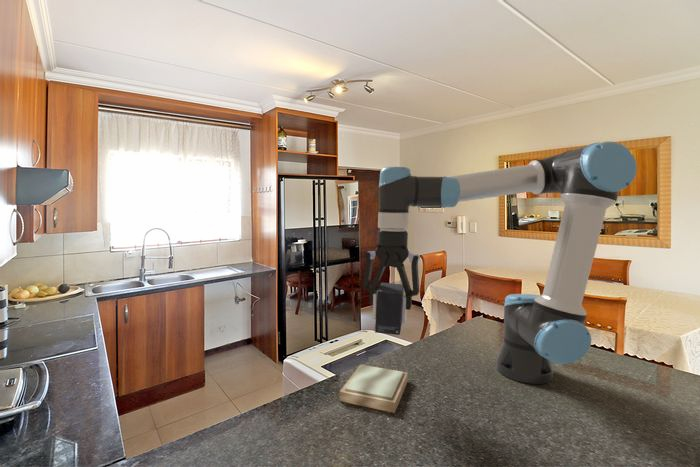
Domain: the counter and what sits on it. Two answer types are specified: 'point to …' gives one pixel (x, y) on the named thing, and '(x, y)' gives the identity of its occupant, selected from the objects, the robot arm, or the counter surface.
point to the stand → (375, 388)
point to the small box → (389, 308)
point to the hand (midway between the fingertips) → (389, 319)
